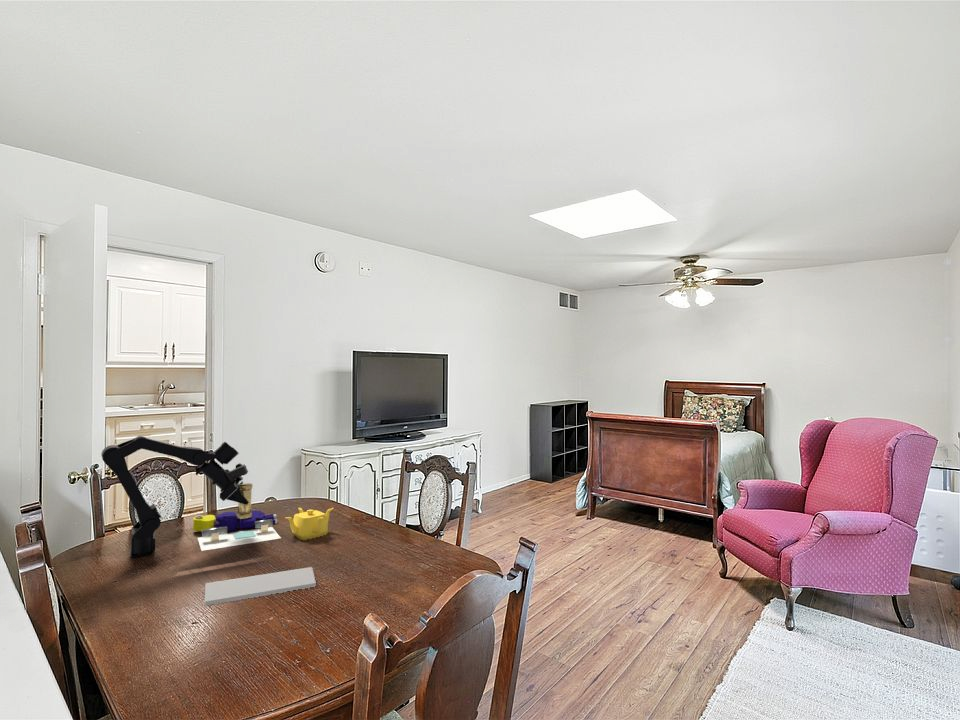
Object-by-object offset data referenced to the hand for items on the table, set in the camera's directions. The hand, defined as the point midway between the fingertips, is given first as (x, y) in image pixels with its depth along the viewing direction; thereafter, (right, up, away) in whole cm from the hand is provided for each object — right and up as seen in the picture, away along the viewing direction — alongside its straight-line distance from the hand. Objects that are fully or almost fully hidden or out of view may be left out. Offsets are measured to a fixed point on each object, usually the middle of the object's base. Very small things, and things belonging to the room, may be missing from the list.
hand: (248, 502), depth 192 cm
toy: (-9, -14, +9) cm, 19 cm away
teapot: (+21, -14, +5) cm, 26 cm away
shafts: (-3, -12, -1) cm, 13 cm away
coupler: (-1, -5, -1) cm, 6 cm away
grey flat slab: (+23, -14, -43) cm, 51 cm away
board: (-2, -13, -3) cm, 14 cm away
